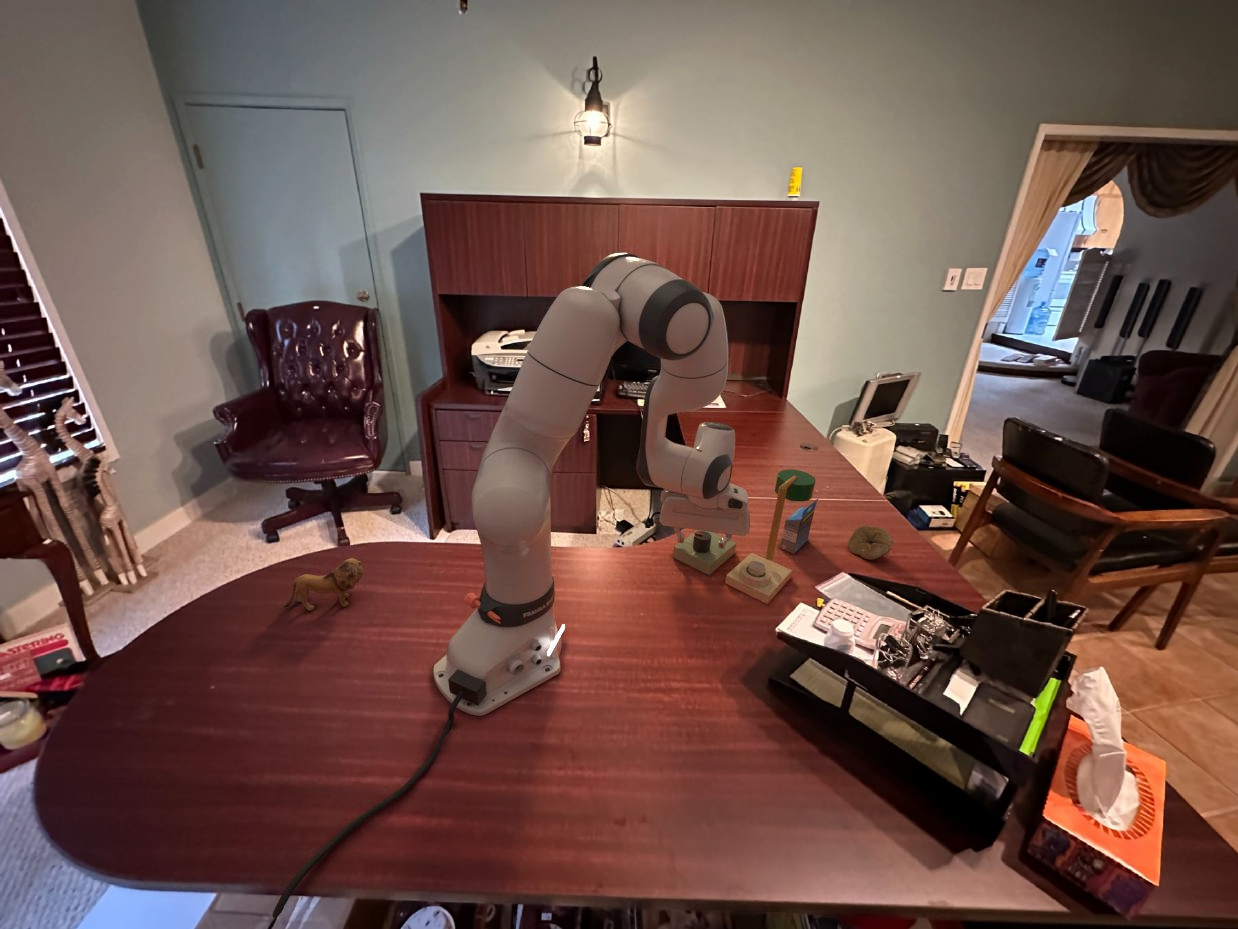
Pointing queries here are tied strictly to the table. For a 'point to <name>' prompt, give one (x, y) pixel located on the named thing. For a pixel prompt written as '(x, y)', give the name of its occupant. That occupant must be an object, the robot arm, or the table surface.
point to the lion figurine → (328, 583)
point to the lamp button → (756, 569)
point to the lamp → (788, 498)
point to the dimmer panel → (704, 560)
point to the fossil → (870, 542)
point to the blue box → (797, 528)
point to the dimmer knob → (702, 541)
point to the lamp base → (759, 578)
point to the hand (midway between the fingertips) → (700, 544)
